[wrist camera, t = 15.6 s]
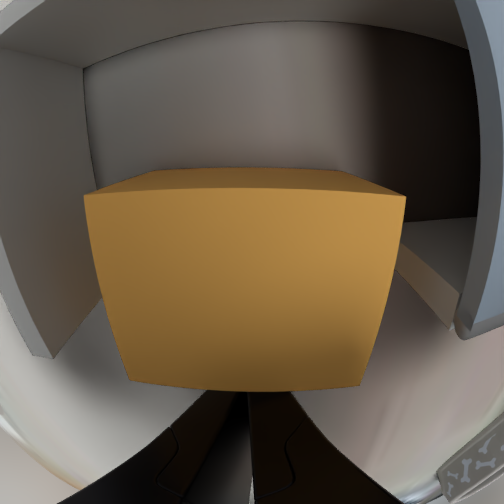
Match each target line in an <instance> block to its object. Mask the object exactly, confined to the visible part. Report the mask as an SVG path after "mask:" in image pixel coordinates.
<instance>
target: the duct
mask: <svg viewBox="0 0 504 504" xmlns="http://www.w3.org/2000/svg"><path fill="white" fill-rule="evenodd" d="M271 21H332V22H346V23H356V24H365V25H372V26H379V27H385V28H391V29H396V30H401V31H406V32H411V33H415V34H419V35H423V36H427V37H431V38H434V39H438V40H441V41H444V42H448V43H451V44H454V45H457V46H460V47H463V48H465V49H468V50H469V48H468V44H467V40H466V36H465V33H464V29H463V26H462V22H461V19H460V16H459V13H458V10H457V7H456V4H455V1H454V0H13V1H12V2H11V3H10V4H8V5H7V6H6V7H5V8H4V9H2V10H1V11H0V291H1V294H2V296H3V298H4V301H5V303H6V305H7V307H8V310H9V312H10V314H11V316H12V318H13V320H14V322H15V324H16V326H17V328H18V330H19V332H20V334H21V336H22V337H23V339H24V341H25V343H26V345H27V347H28V348H29V350H30V352H31V353H32V355H33V356H39V357H45V358H51V359H54V358H55V356H56V355H57V354H58V352H59V351H60V350H61V348H62V347H63V346H64V344H65V343H66V342H67V340H68V339H69V338H70V337H71V335H72V334H73V333H74V331H75V330H76V329H77V328H78V326H79V325H80V324H81V323H82V321H83V320H84V319H85V318H86V316H87V315H88V314H89V313H90V312H91V310H92V309H93V308H94V307H95V306H96V304H97V303H98V302H99V301H100V300H101V298H102V294H101V290H100V286H99V282H98V277H97V273H96V268H95V264H94V259H93V254H92V249H91V243H90V238H89V232H88V225H87V219H86V212H85V204H84V195H86V194H88V193H91V192H93V191H96V190H97V188H96V183H95V178H94V172H93V166H92V160H91V154H90V147H89V140H88V132H87V123H86V113H85V102H84V86H83V68H85V67H87V66H90V65H92V64H94V63H97V62H99V61H101V60H104V59H106V58H109V57H111V56H114V55H116V54H119V53H122V52H125V51H127V50H130V49H133V48H136V47H139V46H142V45H145V44H149V43H152V42H155V41H159V40H162V39H166V38H170V37H174V36H178V35H182V34H186V33H191V32H196V31H201V30H206V29H211V28H217V27H224V26H231V25H238V24H247V23H257V22H271ZM476 223H477V217H469V218H456V219H443V220H431V221H419V222H408V223H403V224H402V230H401V236H400V242H399V248H398V253H397V258H396V263H395V270H396V271H397V272H398V273H399V274H400V275H401V276H402V277H403V278H404V279H405V280H406V281H407V282H408V283H409V284H410V286H411V287H412V288H413V289H414V290H415V291H416V292H417V293H418V294H419V295H420V297H421V298H422V299H423V300H424V301H425V302H426V303H427V304H428V306H429V307H430V308H431V309H432V310H433V311H434V313H435V314H436V315H437V316H438V317H439V318H440V320H441V321H442V322H443V323H444V324H445V326H446V327H447V328H448V329H449V330H452V329H455V327H454V316H455V313H456V310H457V309H458V308H459V305H460V301H461V298H462V294H463V290H464V286H465V282H466V278H467V274H468V269H469V265H470V260H471V255H472V249H473V243H474V237H475V230H476Z"/></svg>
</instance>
